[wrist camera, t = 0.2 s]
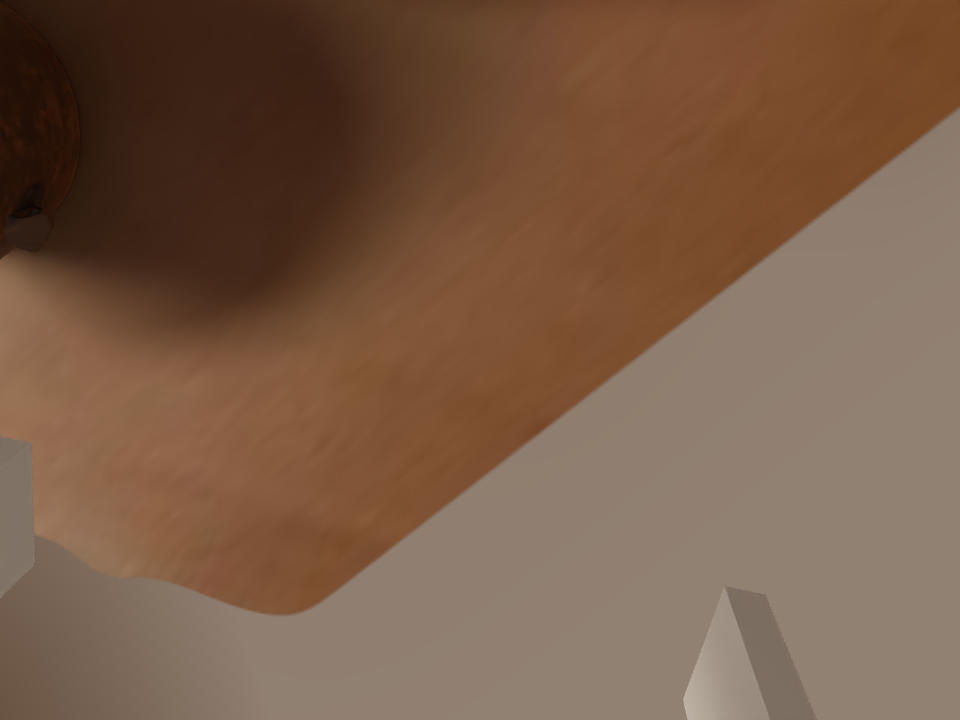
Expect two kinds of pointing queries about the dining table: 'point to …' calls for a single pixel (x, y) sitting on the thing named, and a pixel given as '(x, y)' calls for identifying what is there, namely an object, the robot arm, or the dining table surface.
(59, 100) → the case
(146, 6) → the dining table surface
